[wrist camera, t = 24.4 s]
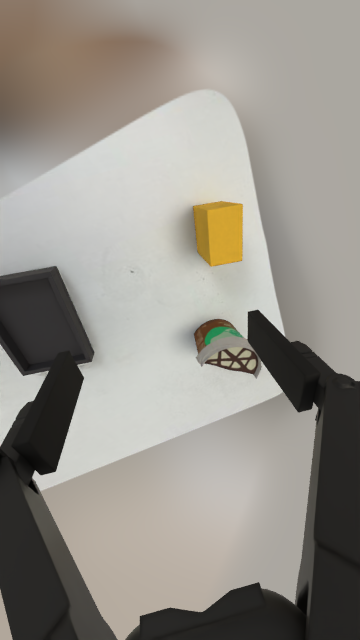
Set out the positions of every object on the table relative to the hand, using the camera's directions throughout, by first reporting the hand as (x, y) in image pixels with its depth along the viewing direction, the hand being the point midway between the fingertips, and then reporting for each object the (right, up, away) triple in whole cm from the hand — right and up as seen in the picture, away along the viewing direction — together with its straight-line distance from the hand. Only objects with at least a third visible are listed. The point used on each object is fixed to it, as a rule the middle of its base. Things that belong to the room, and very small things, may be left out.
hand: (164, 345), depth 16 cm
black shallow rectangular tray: (-23, +2, +22) cm, 32 cm away
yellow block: (+6, +16, +19) cm, 26 cm away
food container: (+9, 0, +29) cm, 31 cm away
